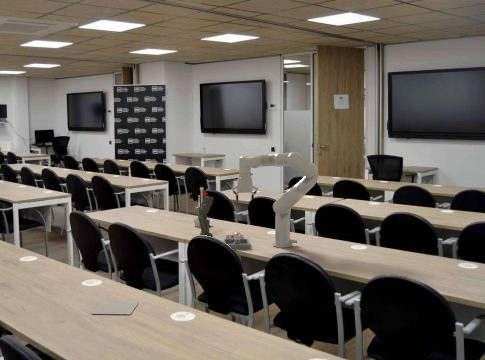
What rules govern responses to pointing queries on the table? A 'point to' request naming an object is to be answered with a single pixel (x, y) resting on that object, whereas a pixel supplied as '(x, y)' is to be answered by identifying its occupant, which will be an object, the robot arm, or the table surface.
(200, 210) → the mechanical leg
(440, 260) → the table surface
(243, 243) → the tray
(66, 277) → the table surface
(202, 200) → the flag stand
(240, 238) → the pin block
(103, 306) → the grey flat slab
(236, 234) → the pin
